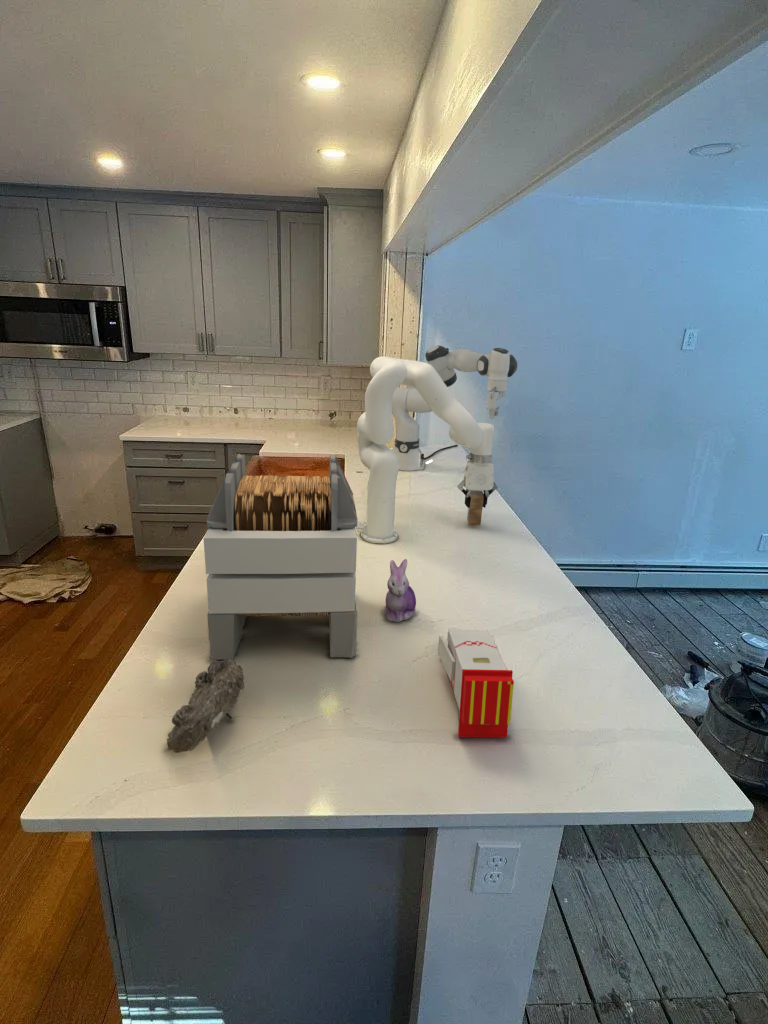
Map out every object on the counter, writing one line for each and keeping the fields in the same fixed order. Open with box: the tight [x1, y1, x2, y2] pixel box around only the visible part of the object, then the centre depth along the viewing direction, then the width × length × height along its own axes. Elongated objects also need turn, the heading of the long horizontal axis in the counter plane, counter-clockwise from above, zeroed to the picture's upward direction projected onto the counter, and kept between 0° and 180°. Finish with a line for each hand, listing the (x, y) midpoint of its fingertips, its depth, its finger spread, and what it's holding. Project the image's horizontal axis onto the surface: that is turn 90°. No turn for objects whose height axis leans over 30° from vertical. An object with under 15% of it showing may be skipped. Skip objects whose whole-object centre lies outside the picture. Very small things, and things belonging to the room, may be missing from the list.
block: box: [466, 490, 484, 527], centre depth 207 cm, size 4×6×12 cm
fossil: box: [166, 659, 245, 754], centre depth 106 cm, size 22×10×15 cm
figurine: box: [384, 558, 417, 623], centre depth 145 cm, size 9×10×15 cm
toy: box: [437, 628, 515, 738], centre depth 117 cm, size 12×13×30 cm
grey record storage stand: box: [203, 453, 359, 661], centre depth 135 cm, size 34×33×41 cm
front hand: (475, 505), depth 207 cm, fingers closed on block, 5 cm apart
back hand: (493, 417), depth 257 cm, fingers open, 8 cm apart
